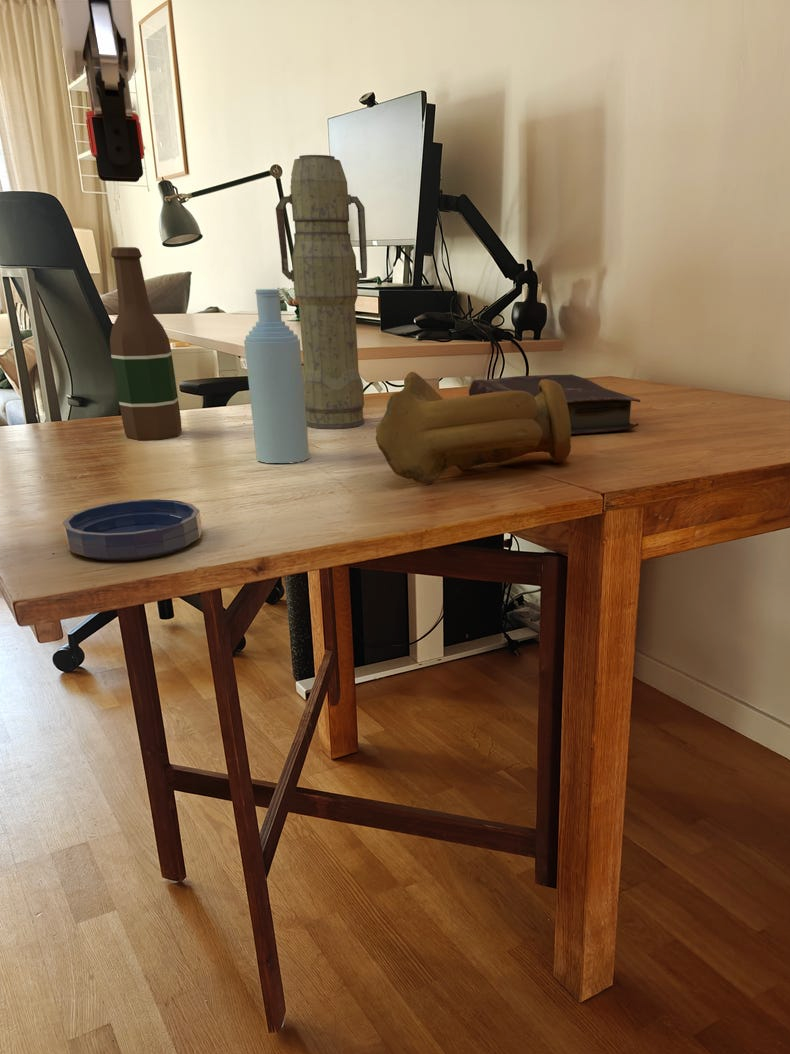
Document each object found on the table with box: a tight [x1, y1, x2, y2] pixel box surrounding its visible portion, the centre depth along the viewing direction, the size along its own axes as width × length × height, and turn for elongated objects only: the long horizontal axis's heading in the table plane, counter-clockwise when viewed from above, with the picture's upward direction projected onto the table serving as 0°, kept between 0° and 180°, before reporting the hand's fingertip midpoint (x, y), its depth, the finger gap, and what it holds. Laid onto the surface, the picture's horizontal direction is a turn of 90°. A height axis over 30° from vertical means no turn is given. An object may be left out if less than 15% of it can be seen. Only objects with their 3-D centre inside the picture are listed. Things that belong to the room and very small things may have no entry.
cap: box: [85, 110, 145, 160], centre depth 69 cm, size 4×4×3 cm
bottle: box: [243, 288, 310, 463], centre depth 103 cm, size 6×6×20 cm
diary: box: [468, 373, 641, 435], centre depth 130 cm, size 19×25×5 cm
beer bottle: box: [109, 246, 183, 441], centre depth 116 cm, size 8×8×24 cm
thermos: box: [275, 154, 368, 430], centre depth 122 cm, size 9×12×35 cm
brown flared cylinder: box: [375, 371, 572, 485], centre depth 98 cm, size 18×13×22 cm
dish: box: [61, 498, 203, 562], centre depth 75 cm, size 11×11×2 cm
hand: (120, 176), depth 70 cm, fingers closed on cap, 3 cm apart
